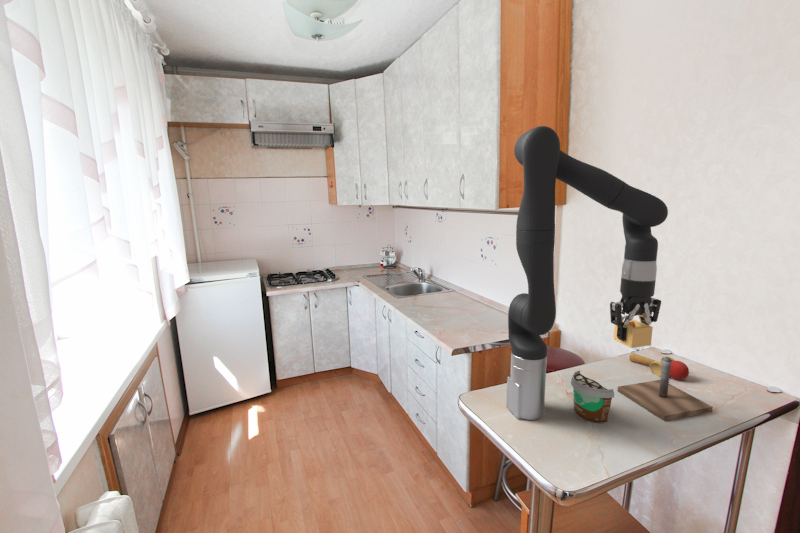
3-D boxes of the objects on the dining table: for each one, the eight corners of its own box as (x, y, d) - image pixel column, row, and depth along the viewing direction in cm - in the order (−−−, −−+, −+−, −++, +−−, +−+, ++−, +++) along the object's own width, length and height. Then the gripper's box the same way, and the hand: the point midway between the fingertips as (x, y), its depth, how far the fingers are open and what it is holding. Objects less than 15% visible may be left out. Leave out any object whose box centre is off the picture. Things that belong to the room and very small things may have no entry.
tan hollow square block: (631, 348, 98) (633, 329, 97) (613, 339, 103) (615, 321, 103) (650, 345, 99) (652, 327, 98) (632, 337, 105) (633, 319, 104)
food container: (559, 405, 109) (561, 373, 107) (576, 401, 111) (578, 369, 109) (593, 430, 98) (596, 394, 96) (611, 425, 100) (615, 389, 98)
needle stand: (664, 421, 101) (669, 373, 98) (617, 391, 116) (621, 349, 114) (712, 411, 104) (718, 365, 102) (660, 383, 120) (665, 343, 117)
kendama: (623, 367, 134) (679, 382, 118) (624, 349, 134) (680, 362, 118) (637, 366, 138) (693, 381, 121) (638, 349, 138) (695, 361, 121)
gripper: (626, 282, 93) (620, 347, 96) (674, 277, 96) (667, 340, 99) (603, 275, 100) (598, 336, 103) (649, 271, 103) (643, 330, 106)
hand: (632, 338), depth 101 cm, fingers closed on tan hollow square block, 6 cm apart
